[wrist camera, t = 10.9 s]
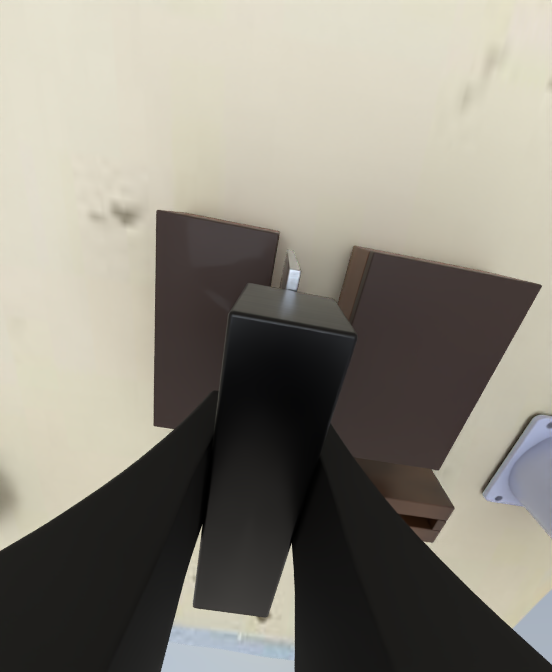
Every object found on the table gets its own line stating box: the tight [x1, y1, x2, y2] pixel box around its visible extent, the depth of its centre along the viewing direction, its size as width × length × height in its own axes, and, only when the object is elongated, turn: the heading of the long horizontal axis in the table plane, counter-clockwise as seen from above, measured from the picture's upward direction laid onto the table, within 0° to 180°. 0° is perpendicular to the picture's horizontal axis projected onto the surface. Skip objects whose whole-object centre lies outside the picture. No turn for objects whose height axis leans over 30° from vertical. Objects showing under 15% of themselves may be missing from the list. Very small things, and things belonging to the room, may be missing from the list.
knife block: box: [354, 457, 454, 543], centre depth 19 cm, size 12×4×4 cm, turn 80°
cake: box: [330, 246, 542, 470], centre depth 15 cm, size 8×11×4 cm
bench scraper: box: [193, 250, 358, 617], centre depth 10 cm, size 10×2×8 cm, turn 170°
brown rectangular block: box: [154, 210, 280, 429], centre depth 15 cm, size 5×11×4 cm, turn 170°
